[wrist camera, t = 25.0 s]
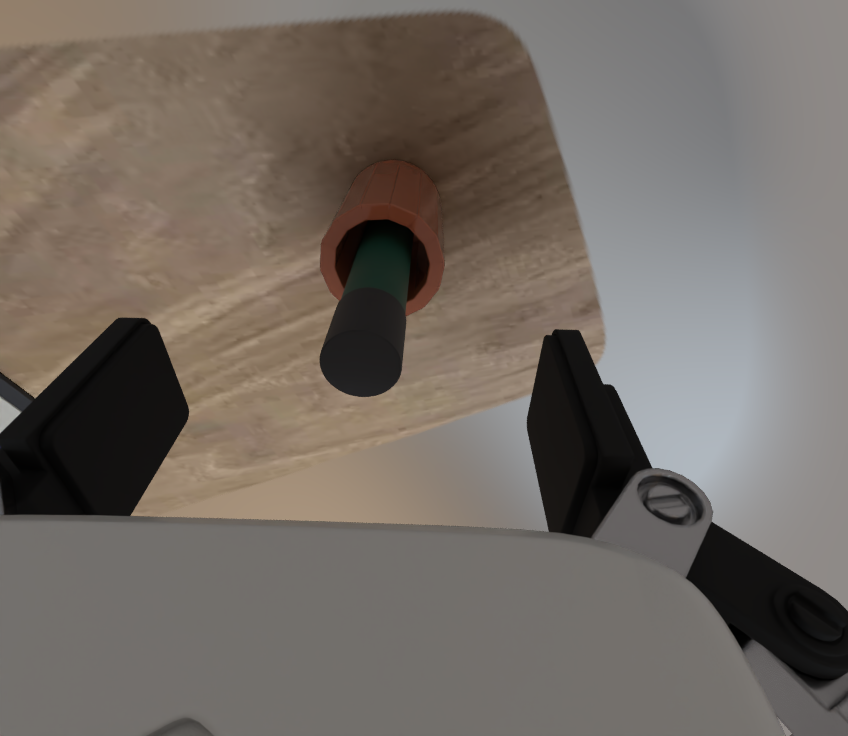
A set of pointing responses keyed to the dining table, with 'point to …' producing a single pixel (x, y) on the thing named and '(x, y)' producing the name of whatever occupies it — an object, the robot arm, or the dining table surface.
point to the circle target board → (11, 401)
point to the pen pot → (399, 202)
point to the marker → (371, 314)
